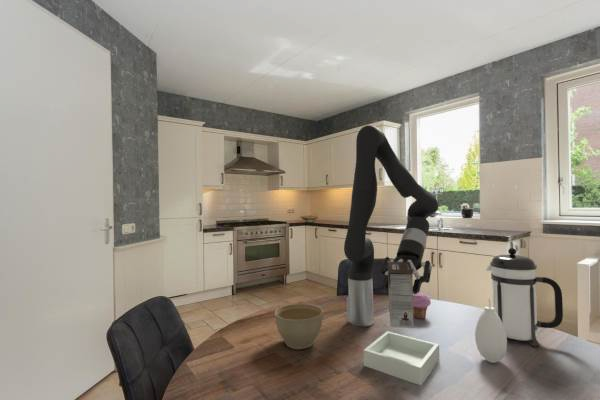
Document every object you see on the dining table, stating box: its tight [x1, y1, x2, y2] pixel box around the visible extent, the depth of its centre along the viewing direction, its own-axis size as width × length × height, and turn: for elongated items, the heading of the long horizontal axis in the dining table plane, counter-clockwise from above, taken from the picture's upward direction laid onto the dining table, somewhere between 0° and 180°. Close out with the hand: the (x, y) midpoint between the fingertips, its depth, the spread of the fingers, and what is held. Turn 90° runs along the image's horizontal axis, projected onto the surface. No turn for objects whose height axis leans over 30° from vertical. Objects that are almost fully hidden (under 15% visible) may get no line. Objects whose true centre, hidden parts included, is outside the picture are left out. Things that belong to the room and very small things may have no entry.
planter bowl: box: [274, 303, 324, 350], centre depth 104 cm, size 16×16×11 cm
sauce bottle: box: [474, 298, 508, 364], centre depth 89 cm, size 8×8×18 cm
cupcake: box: [413, 291, 431, 320], centre depth 124 cm, size 9×9×10 cm
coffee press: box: [485, 247, 564, 348], centre depth 103 cm, size 17×16×30 cm
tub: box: [363, 330, 440, 386], centre depth 90 cm, size 16×16×4 cm
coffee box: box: [388, 262, 414, 329], centre depth 89 cm, size 9×6×16 cm
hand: (399, 290), depth 90 cm, fingers closed on coffee box, 8 cm apart
